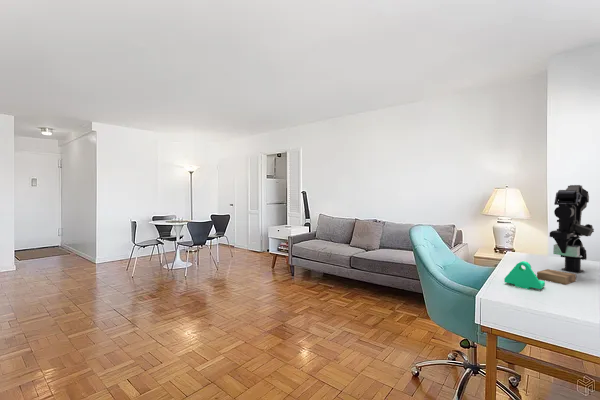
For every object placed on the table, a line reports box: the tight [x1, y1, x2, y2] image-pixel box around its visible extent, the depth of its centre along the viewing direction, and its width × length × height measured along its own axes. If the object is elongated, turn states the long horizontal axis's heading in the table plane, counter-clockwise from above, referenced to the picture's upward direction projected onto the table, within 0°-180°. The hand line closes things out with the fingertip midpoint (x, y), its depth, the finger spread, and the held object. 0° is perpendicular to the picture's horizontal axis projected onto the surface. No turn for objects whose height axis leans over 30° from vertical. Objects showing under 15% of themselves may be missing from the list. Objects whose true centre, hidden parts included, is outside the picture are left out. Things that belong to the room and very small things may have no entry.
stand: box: [536, 268, 577, 286], centre depth 130 cm, size 10×10×3 cm
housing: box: [553, 243, 581, 257], centre depth 135 cm, size 5×8×4 cm, turn 37°
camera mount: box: [504, 260, 546, 290], centre depth 122 cm, size 12×8×10 cm, turn 40°
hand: (566, 252), depth 135 cm, fingers closed on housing, 5 cm apart
